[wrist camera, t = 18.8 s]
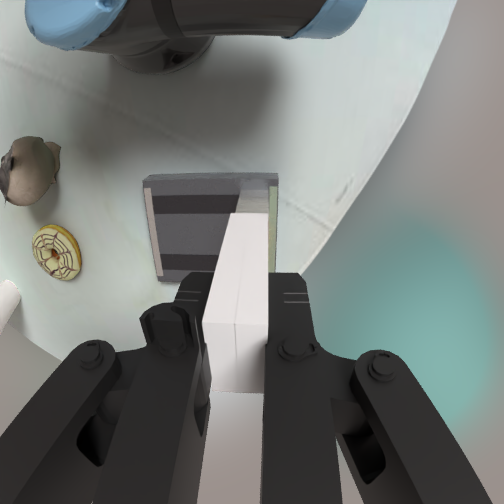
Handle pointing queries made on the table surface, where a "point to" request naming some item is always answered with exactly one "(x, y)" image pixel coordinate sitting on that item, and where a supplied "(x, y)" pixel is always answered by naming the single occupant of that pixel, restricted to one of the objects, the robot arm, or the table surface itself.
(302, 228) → the table surface
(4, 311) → the foam cup
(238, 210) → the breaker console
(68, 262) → the decorated donut
